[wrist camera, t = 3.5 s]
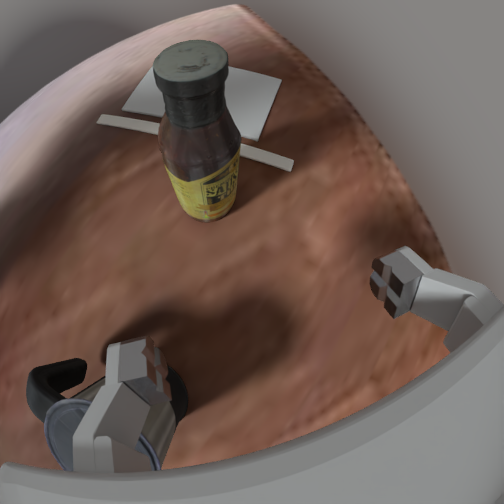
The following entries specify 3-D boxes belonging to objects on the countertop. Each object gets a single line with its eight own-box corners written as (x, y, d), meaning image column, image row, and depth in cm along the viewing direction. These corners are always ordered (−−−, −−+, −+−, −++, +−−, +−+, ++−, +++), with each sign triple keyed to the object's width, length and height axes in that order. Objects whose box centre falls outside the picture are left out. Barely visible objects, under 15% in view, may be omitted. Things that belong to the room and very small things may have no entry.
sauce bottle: (220, 233, 30) (206, 124, 10) (171, 210, 30) (101, 93, 10) (246, 184, 31) (268, 46, 12) (198, 163, 31) (173, 24, 12)
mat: (122, 110, 32) (121, 109, 31) (160, 58, 34) (160, 56, 34) (257, 141, 32) (257, 139, 32) (281, 81, 34) (281, 79, 34)
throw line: (97, 123, 31) (96, 122, 31) (102, 115, 32) (101, 114, 31) (290, 172, 32) (291, 171, 32) (293, 161, 32) (294, 160, 32)
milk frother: (190, 361, 27) (155, 415, 13) (192, 473, 25) (176, 554, 10) (77, 343, 26) (-7, 363, 12) (90, 451, 24) (36, 506, 9)
